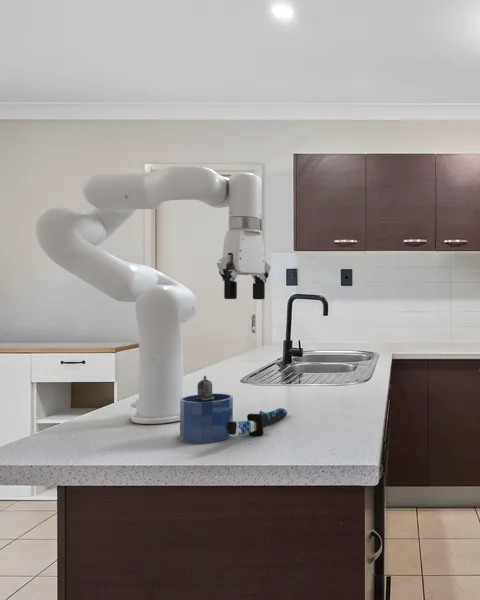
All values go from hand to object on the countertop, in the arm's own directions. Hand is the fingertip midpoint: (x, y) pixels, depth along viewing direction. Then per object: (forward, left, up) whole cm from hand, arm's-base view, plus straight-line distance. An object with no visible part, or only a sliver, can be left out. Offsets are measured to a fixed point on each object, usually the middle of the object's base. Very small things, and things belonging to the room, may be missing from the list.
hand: (245, 299), depth 122 cm
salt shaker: (+4, -16, -28) cm, 33 cm away
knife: (+12, -8, -28) cm, 32 cm away
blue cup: (+4, -16, -28) cm, 33 cm away
